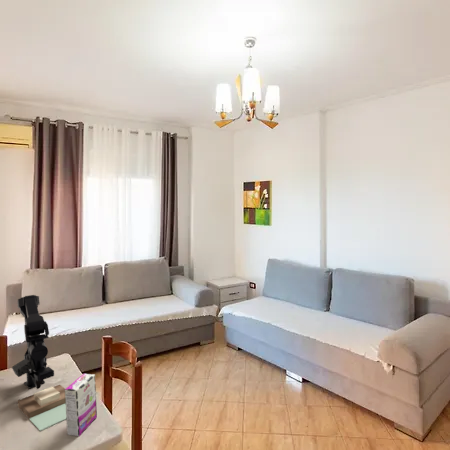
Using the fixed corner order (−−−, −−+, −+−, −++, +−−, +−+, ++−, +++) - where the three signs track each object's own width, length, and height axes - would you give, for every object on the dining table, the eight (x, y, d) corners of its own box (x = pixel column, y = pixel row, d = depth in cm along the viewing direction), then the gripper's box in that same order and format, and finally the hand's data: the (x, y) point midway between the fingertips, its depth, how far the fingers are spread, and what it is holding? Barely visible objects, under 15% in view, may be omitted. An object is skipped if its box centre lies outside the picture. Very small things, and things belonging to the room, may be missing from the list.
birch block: (34, 399, 136) (33, 393, 136) (52, 392, 142) (52, 386, 141) (41, 406, 132) (40, 400, 132) (60, 398, 137) (59, 392, 137)
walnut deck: (17, 406, 136) (17, 400, 136) (59, 390, 148) (59, 384, 148) (29, 419, 128) (29, 412, 128) (72, 400, 140) (72, 394, 140)
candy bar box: (85, 415, 130) (83, 372, 129) (97, 417, 129) (96, 374, 128) (65, 435, 119) (63, 388, 118) (78, 437, 118) (77, 390, 117)
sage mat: (29, 419, 128) (29, 418, 128) (72, 400, 140) (72, 399, 140) (40, 431, 121) (40, 430, 121) (85, 410, 133) (84, 409, 133)
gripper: (6, 350, 142) (8, 388, 143) (22, 365, 129) (24, 406, 130) (35, 342, 150) (37, 378, 151) (54, 355, 138) (55, 393, 139)
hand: (38, 388), depth 143 cm, fingers closed
